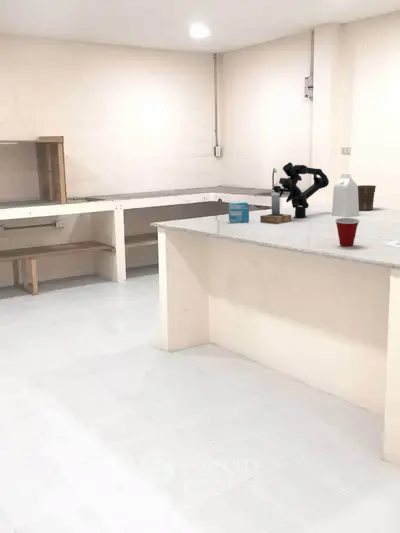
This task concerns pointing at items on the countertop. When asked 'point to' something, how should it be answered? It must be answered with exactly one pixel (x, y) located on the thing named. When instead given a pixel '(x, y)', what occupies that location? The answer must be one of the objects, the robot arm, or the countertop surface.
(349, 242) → the plastic cup
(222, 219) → the countertop surface
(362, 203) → the plant pot
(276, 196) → the grey bottle
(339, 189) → the milk
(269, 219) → the stand
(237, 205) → the data package
